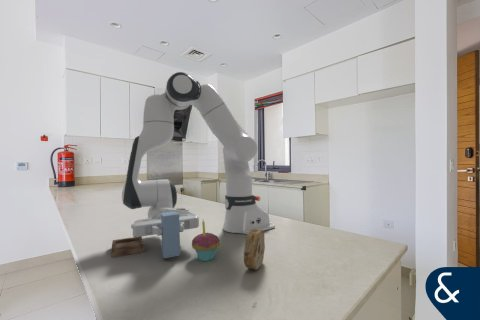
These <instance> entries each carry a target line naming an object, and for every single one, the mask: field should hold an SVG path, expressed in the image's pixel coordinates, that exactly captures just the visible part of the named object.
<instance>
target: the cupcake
mask: <svg viewBox="0 0 480 320" xmlns="http://www.w3.org/2000/svg"><path fill="white" fill-rule="evenodd" d="M201 225H202V233H200V234H198V235H196V236H194V237H193V239H192V241H191V247H192V249H193V250H195V253H196V255H197V257H198V260H199V261H202V262H203V261H204V262H208V261H211V260H213V259H214V258H215V256H216V253H217V250H218V249H219V246H220V245H221V240H220V237H219V236H217V234H214V233H212V232H206V225H205V221H204V219H202V222H201Z"/></svg>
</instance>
